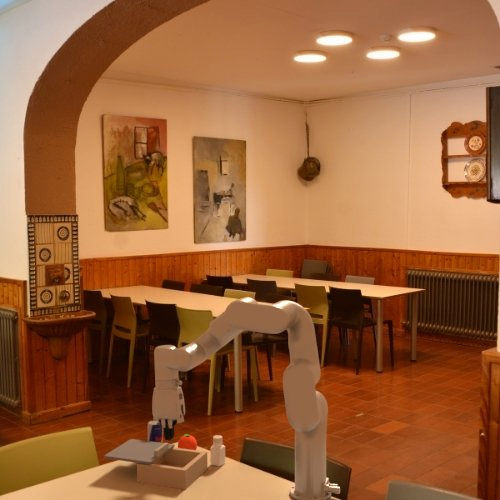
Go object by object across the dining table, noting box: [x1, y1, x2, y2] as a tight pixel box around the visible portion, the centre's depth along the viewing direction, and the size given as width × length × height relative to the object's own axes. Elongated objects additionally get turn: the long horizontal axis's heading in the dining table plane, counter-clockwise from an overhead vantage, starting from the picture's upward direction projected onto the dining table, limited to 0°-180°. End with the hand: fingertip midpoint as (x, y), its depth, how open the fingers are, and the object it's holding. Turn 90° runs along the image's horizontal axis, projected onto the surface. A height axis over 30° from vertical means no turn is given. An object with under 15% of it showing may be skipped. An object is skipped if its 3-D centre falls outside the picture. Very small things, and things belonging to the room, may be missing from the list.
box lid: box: [103, 438, 176, 465], centre depth 217 cm, size 17×17×3 cm
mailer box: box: [136, 447, 208, 490], centre depth 214 cm, size 17×17×6 cm
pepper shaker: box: [210, 434, 226, 467], centre depth 223 cm, size 4×4×10 cm
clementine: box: [177, 433, 198, 450], centre depth 233 cm, size 8×7×7 cm
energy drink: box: [146, 420, 164, 443], centre depth 231 cm, size 5×5×12 cm
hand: (169, 439), depth 214 cm, fingers closed
